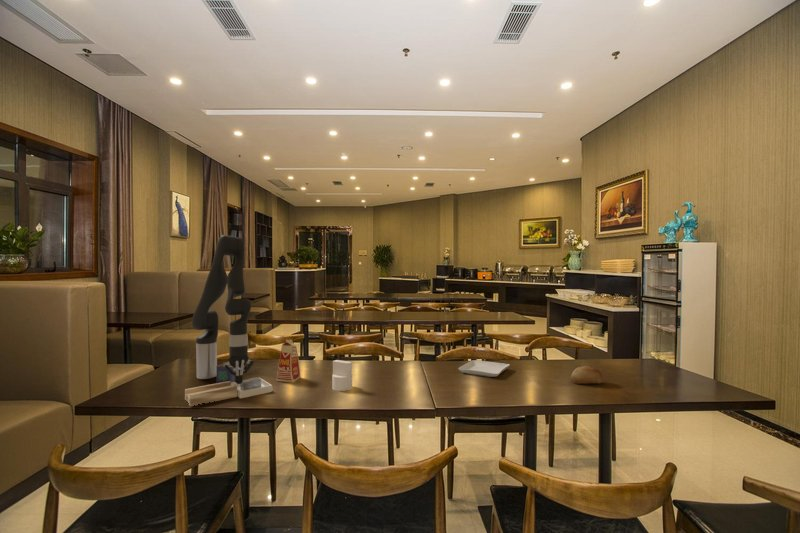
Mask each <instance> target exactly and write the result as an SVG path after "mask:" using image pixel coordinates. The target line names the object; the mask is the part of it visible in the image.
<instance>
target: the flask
mask: <svg viewBox="0 0 800 533" xmlns="http://www.w3.org/2000/svg"><path fill="white" fill-rule="evenodd" d="M227 362H228V361H223V362H222V363H220V364H217V366H216V367H217V372H216V373H217V376H216V381H215V382H216V383H222V382H227V381H230V382H231V383H232V382H235V375H232V374H230V373H229V372H228V371H227V370H226V369H225V367H224V366H223V364H226V363H227ZM229 368H230V369H231V370H232V371H233V372H234V367H232V365H230V367H229ZM216 383H215V384H216Z"/></svg>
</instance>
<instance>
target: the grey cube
mask: <svg viewBox="0 0 800 533" xmlns="http://www.w3.org/2000/svg"><path fill="white" fill-rule="evenodd" d="M240 388H241V390H242V391H245V390H250V389H253V381H252V380H250V378H248V379H247V378H246V379H243V381H242V382H241V384H240Z"/></svg>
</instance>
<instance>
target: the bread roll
mask: <svg viewBox="0 0 800 533" xmlns="http://www.w3.org/2000/svg"><path fill="white" fill-rule="evenodd" d="M604 380H605V378H604V375H603V373H602V372H601V370H599V369H598V368H596V367H594V366H590V365H589V366H588V365H582V366H579V367H576V368H575V369H574V370H573V371H572V373H571V375H570V381H571V382H572V383H573V384H578V385H581V384H582V385H583V384H602V383H603V382H604Z"/></svg>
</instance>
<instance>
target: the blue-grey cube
mask: <svg viewBox="0 0 800 533" xmlns="http://www.w3.org/2000/svg"><path fill="white" fill-rule="evenodd" d="M260 378H261V377H260V376H257V377H250V378H249V379H250V380H252V381H253V389H255V388H260V387H261V379H262V378H261V379H260Z"/></svg>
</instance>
